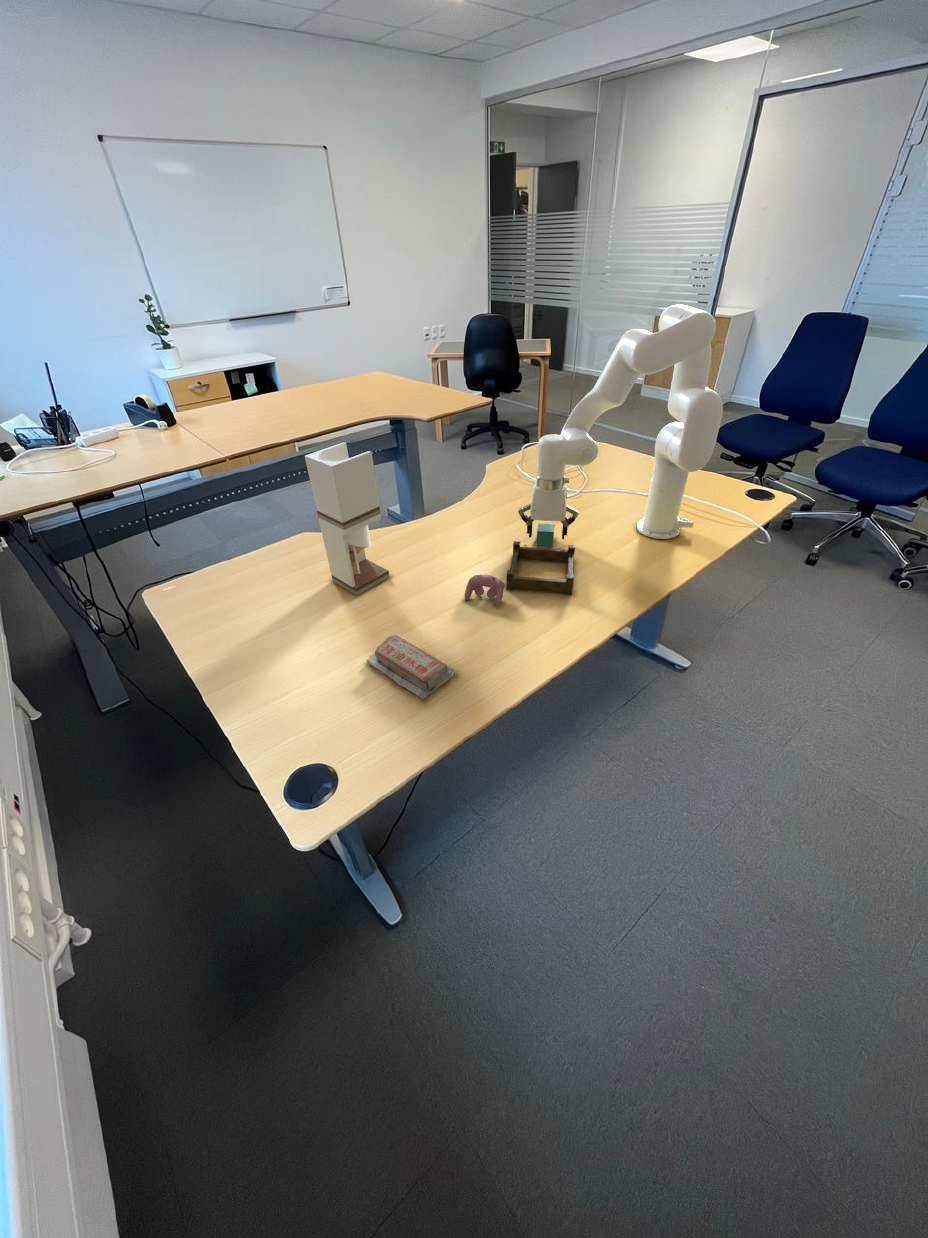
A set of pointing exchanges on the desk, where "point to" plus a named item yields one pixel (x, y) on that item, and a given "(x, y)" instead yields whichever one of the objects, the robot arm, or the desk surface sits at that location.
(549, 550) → the wooden frame
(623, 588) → the desk surface
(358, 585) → the tall open-top tower
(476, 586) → the video game controller
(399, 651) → the packaged product
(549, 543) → the teal block
